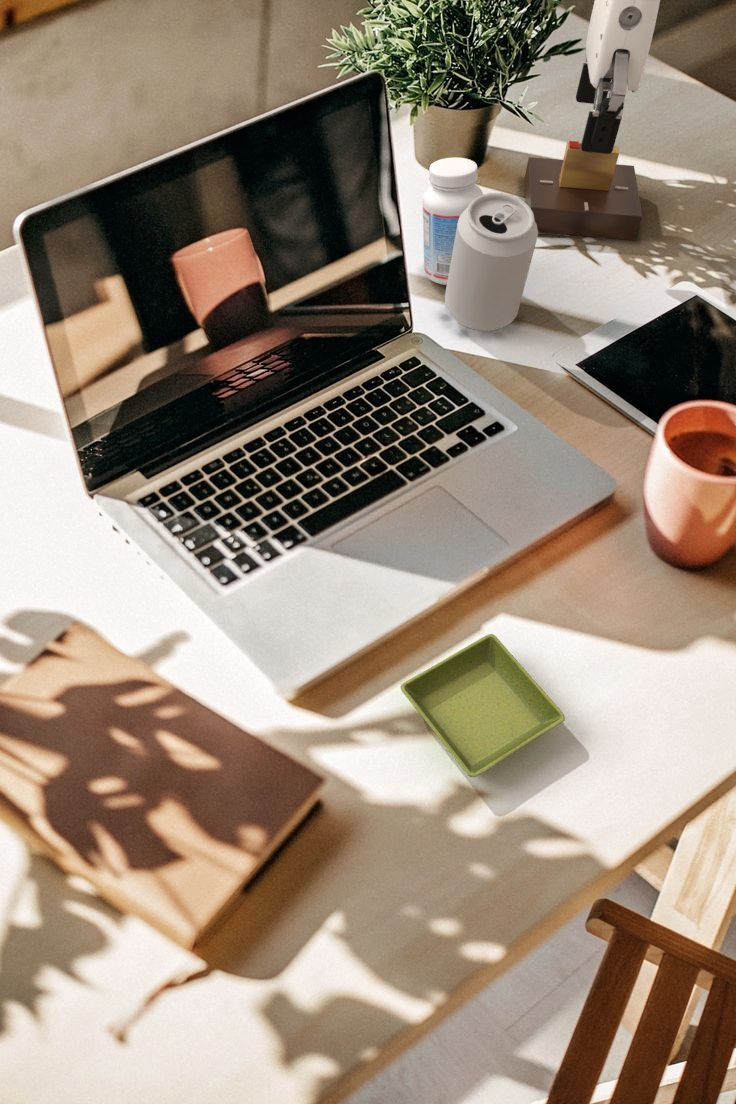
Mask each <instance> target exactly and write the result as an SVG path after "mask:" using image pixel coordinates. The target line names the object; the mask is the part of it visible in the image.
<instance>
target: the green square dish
mask: <svg viewBox="0 0 736 1104" xmlns="http://www.w3.org/2000/svg"><path fill="white" fill-rule="evenodd" d="M400 690H401V692H402V694H403V695H404V696H405V697H406V698H407V700H408V701H409V702H410V704H411V705H412V706H413V707H414V708H415V710H416V711H417V713H418V714H419V715H420V716H421V718H422V719H423V720H424V722H425V723H426V724H427V725H428V727H429V728H430V729H431V730H432V731H433V733H434V735H436V736H437V738H438V739H439V741H440V742H441V743H442V744H443V745H444V747H445V748H446V750H447V751H448V752H449V753H450V755H451V756H452V758H454V760H455V761H456V763H458V765H459V766H460V767H461V768H462V770H463V771H464V772H465V774H466V775H467V776H469V777H470V778H477V777H479V776H480V775H482V774H483V773H485V772H487V771H488V770H490V769H491V768H493V767H495V766H496V765H497V764H499V763H501V762H502V761H504V760H505V759H507V758H509V757H510V756H512V755H513V754H515V753H516V752H518V751H519V750H521V749H522V748H524V747H526V746H527V745H529V744H531V743H533V741H535V740H537V739H539V738H540V737H542V736H543V735H545V734H546V733H548V732H549V731H551V730H553V729H554V728H556V727H558V726H559V725H561V724H562V723H564V722H565V720H566V716H565V714H564V713H563V711H562V710H561V709H560V708H559V706H558V705H557V704H556V703H555V702H554V701H553V699H551V697H550V696H549V695H548V694H547V693H546V692H545V690H543V688H542V687H541V686H540V685H539V684H538V683H537V681H535V679H534V678H533V677H532V675H530V674H529V673H528V671H527V670H526V669H525V667H523V666H522V664H521V663H520V662H519V661H518V660H517V659H516V658H515V657H514V655H513V654H512V653H511V651H509V649H507V647H506V646H505V644H503V642H501V640H500V639H499V638H498V636H496V635H495V634H494V633H490V634H486V635H485V636H483V637H481V638H479V639H477V640H476V641H474V642H472V643H471V644H468V645H467V646H464V647H463V648H462V649H460V650H458V651H457V652H456V653H453V654H452V655H450V656H448V657H446V658H445V659H443V660H441V661H440V662H438V663H436V664H434V665H432V666H431V667H429V668H428V669H425V670H424V671H422V672H420V673H418V674H416V675H415V676H413V677H411V678H409V679H407V680H406V681H404V682H402V683H401V685H400Z"/></svg>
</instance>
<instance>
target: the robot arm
mask: <svg viewBox="0 0 736 1104" xmlns="http://www.w3.org/2000/svg"><path fill="white" fill-rule="evenodd" d="M660 2H661V0H594V1H593V7H592V10H591V16H590V20H589V24H588V30H587V34H586V35H587V36H586V43H585V44H586V45H585V51H586V56H585V62H584V63H583V65H582V69H581V73H580V76H579V81H578V86H577V89H576V95H575V100H576V102H577V103H581V104H590V105H593V107H592V111H591V110H590V111H589V112H588V114H587V115H588V116H587V120H586V124H585V127H584V132H583V136H582V139H581V142H580V143H581V149H582V151H585V152H594V153H604V154H610V153H611V152H612V151H613V148H614V146H615V144H616V140H617V136H618V134H619V130H620V125H621V121H622V118H623V113H624V107H625V106H624V105H625V98H626V95H627V90H628V91H631V93H637V92H638V91H639V90H640V89H641V86H642V81H643V77H644V74H645V69H646V66H647V61H648V57H649V53H650V48H651V45H652V41H653V38H654V37H653V36H654V32H655V28H656V22H657V18H658V13H659V8H660V4H661V3H660Z"/></svg>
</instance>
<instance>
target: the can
mask: <svg viewBox="0 0 736 1104" xmlns="http://www.w3.org/2000/svg"><path fill="white" fill-rule="evenodd" d="M538 236H539V232H538V229H537V224H536V223H535V219H534V214H533V212H532V210H531V208H530V207H529V206H528V205H527V204H526V203H525V201H523V200H522V199H521V198H518V197H517V196H514V195H512V194H508V193H503V192H490V193H485V194H484V193H483V195H481V196H479V197H477V198H475V199H474V200H473V201H472V202H471V203H470V204H469V205H468V208H466V209H465V210H464V212H463V213H462V214H461V215H460V217H459V220H458V223H457V229H456V235H455V241H454V246H453V252H452V258H451V264H450V270H449V275H448V281H447V285H446V287H445V292H444V293H445V294H444V306H445V308H446V310H447V312H448V313H449V315H450V316H451V317H452V319H454V320H455V321H456V322H457V323H459V324H460V325H462V326H465V327H466V328H469V329H471V330H475V331H480V332H483V331H484V332H487V331H494V330H495V331H496V330H498V329H503V328H505V327H507V326H508V325H509V324H510V325H511V323H513V321H514V320H515V319H516V318H517V316H518V314H519V310H520V307H521V303H522V298H523V294H524V290H525V286H526V282H527V279H528V275H529V271H530V267H531V263H532V260H533V257H534V251H535V248H536V244H537V240H538V238H539V237H538Z"/></svg>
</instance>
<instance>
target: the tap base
mask: <svg viewBox="0 0 736 1104" xmlns="http://www.w3.org/2000/svg"><path fill="white" fill-rule="evenodd" d="M562 163H563V159H557V158H556V159H555V158H544V157H532V156H528V159H527V164H526V169H525V175H524V178H523V179H524V180H523V182H524V183H523V184H524V202H525V203H526V204H527V205H528V206H529V207H530V208H531V210H532V212H533V214H534V219H535V223H536V224H537V229H538V233H545V234H557V235H566V236H567V235H569V236H580V237H593V238H603V239H604V238H605V239H606V238H607V239H615V240H628V241H636V240H637V236H638V233H639V229H640V227H641V223H642V219H643V211H642V207H641V206H642V205H641V200H640V193H639V188H638V181H637V176H636V169H635V166H634V165H628V164H617V163H616V167H615V171H614V175H613V179H612V183H611V186H610V190H609V191H605V190H593V189H581V188H569V187H560V186H559V177H560V173H561V168H562Z"/></svg>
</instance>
